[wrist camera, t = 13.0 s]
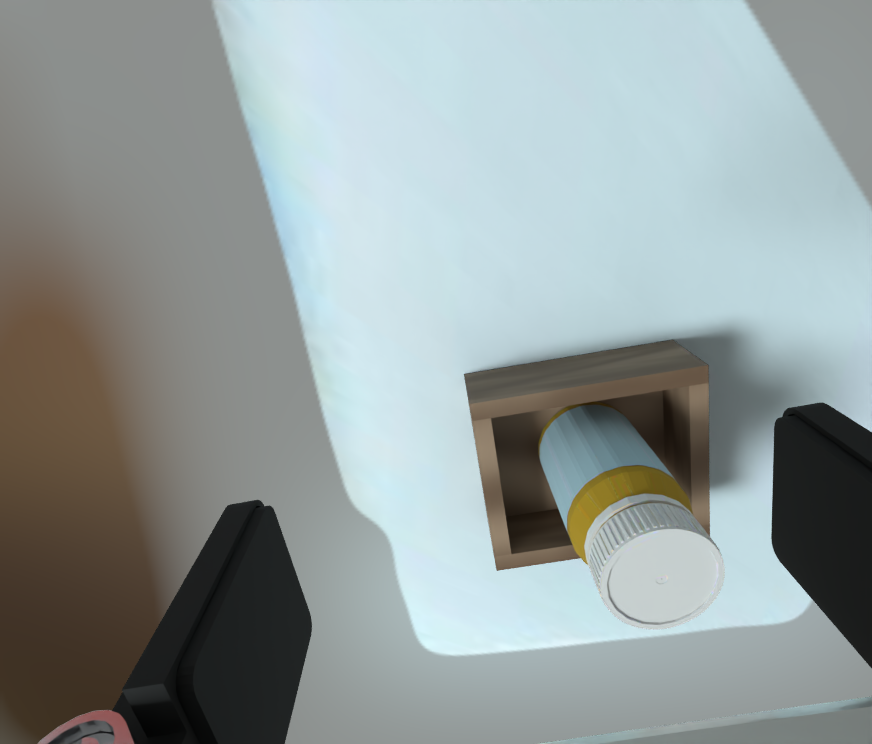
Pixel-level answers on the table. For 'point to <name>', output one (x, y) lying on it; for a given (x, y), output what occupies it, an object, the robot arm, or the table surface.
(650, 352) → the brown box
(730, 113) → the table surface
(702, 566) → the bottle
